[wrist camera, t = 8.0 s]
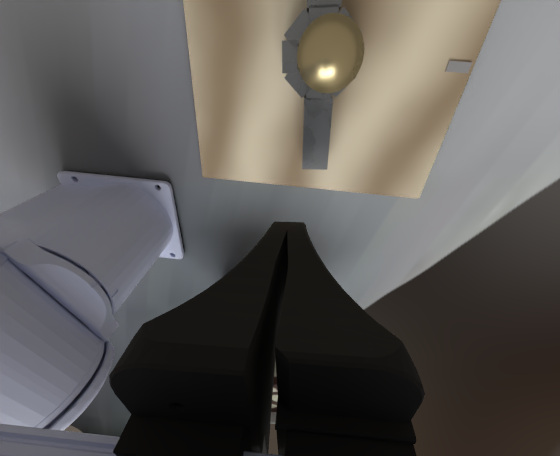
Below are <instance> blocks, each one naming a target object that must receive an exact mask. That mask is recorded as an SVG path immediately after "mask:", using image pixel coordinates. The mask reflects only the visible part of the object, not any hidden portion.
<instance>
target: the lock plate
mask: <svg viewBox="0 0 560 456" xmlns="http://www.w3.org/2000/svg"><path fill="white" fill-rule="evenodd" d="M500 1H501V0H342V3H341V8H340V10H341V9H342V8H343V7H345V9H346V10H347V12H348V13H349V14H350V16H351V17H352V19H353V20H354V21H353V20H352V19H351V18H350V17H348V16H346V15H343V14H340V13H329V14H325V15H322V16H320V17H318V18H317V19H316V20H314V21H313V22H312V23H311V24H310V25H309V26H308V27H307V28H306V30H305V32H304V33H303V35H302V37H301V39H300V42H299V46H298V51H297V64H298V69H299V72H300V75H301V77H302V79H303V80H304V82H305V83H306V84H307V85H308V86H309V87H310V88H312V89H313V90H315V91H317V92H320V93H334V92H337V91H340V90H342V89H343V88H345V87H346V86H347V87H346V88H345V89H344V90H343V91H342V92H341V93H340V94H339V95H338V96H337V97H336V98H335V97H334V96H333V94H332V97H333V108H332V119H331V131H330V143H329V154H328V166H327V170H316V169H302V155H303V121H304V97H303V98H301V97H300V95H299V94H298V93H297V92H296V91H295V90H294V89H293V88H292V86H291V85H290V84H289V83H288V82H287V81H286V80H285V78H284V77H285V76H286V75H287V74H288V73H282V41H286V40H287V39H286V37H285V36H284V34H285V33H286V31H287V30H288V29H289V28H290V26H291V25H292V24H293V22H294V21H295V20H296V18H297V17H298V16H299V14H300V13H301V12H302V10H303V9H304V8H305V10H306V11H307V0H183V3H184V12H185V21H186V30H187V39H188V48H189V57H190V66H191V75H192V84H193V93H194V102H195V111H196V120H197V129H198V138H199V147H200V156H201V165H202V174H203V177H208V178H218V179H228V180H238V181H248V182H258V183H268V184H278V185H288V186H298V187H308V188H318V189H328V190H338V191H348V192H358V193H368V194H378V195H388V196H398V197H408V198H418V199H419V197H420V195H421V192H422V190H423V188H424V185H425V183H426V180H427V178H428V176H429V173H430V171H431V168H432V166H433V163H434V161H435V159H436V156H437V154H438V151H439V149H440V146H441V144H442V142H443V139H444V137H445V134H446V132H447V130H448V127H449V125H450V122H451V120H452V117H453V115H454V113H455V110H456V108H457V105H458V103H459V101H460V98H461V96H462V93H463V91H464V88H465V86H466V84H467V81H468V79H469V76H470V74H471V72H472V69H473V67H474V64H475V62H476V59H477V57H478V55H479V52H480V50H481V47H482V45H483V42H484V40H485V38H486V35H487V33H488V30H489V28H490V26H491V23H492V21H493V18H494V16H495V13H496V11H497V9H498V6H499V4H500ZM340 10H339V12H340ZM360 30H361V31H360ZM361 32H362V33H361ZM355 77H356V78H355ZM354 78H355V79H354Z"/></svg>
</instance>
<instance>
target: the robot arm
mask: <svg viewBox="0 0 560 456" xmlns="http://www.w3.org/2000/svg"><path fill="white" fill-rule="evenodd" d="M57 177H58V179H59V181H60V185H58V186H56V187H54V188H52V189H50V190H48V191H46V192H44V193H42V194H40V195H38V196H36V197H33V198H31V199H29V200H27V201H25V202H23V203H21V204H19V205H17V206H15V207H13V208H11V209H9V210H7V211H5V212H3V213H1V214H0V456H416V452H415V449H414V445H413V444H415V443H416V436H415V433H414V429H413V426H412V422H411V419H412V418H413V416H414V414H415V413H416V411H417V409H418V408H419V406H420V405H421V403H422V401H423V398H424V395H425V393H424V390H423V386H422V383H421V379H420V377H419V374H418V372H417V369H416V367H415V366H414V363H413V361H412V359H411V357H410V355H409V353H408V351H407V349H406V348H405V346H404V344H403V342H402V341H401V340H400V339H398V338H397V337H396V336H395V335H393V334H392V333H391V332H389V331H388V330H387V329H385V328H384V327H383V326H382V325H380V324H379V323H378V322H376V321H375V320H374V319H373V318H372V317H371V316H369V315H368V314H367V313H366V312H365V311H364V310H363V309H362V308H361V307H360V306H359V305H358V304H357V303H356V302H355V301H354V300H353V299H352V298H351V297H350V296H349V295H348V294H347V293H346V292H345V291H344V290H343V288H342V287H341V286H340V285H339V284H338V283H337V281H336V280H335V279H334V278H333V276H332V275H331V274H330V272H329V271H328V269H327V268H326V267H325V265H324V263H323V262H322V260H321V259H320V257H319V255H318V254H317V252H316V250H315V248H314V246H313V244H312V242H311V240H310V238H309V235H308V233H307V229H306V225H305V224H304V223H302V222H274V223H273V224H272V225H271V227H270V228H269V230H268V231H267V232H266V234H265V235H264V236H263V238H262V239H261V240H260V241H259V243H258V244H257V245H256V246H255V247H254V248H253V250H252V251H251V252H250V253H249V254H248V255H247V256H246V257H245V258H244V259H243V260H242V261H241V262H240V263H239V264H238V265H237V266H236V267H235V268H234V269H232V270H231V271H230V272H229V273H228V274H226V275H225V276H224V277H223V278H221V279H220V280H219V281H217V282H216V283H215V284H213V285H212V286H210V287H209V288H208V289H206V290H205V291H203V292H202V293H200V294H198V295H197V296H195V297H194V298H192V299H190V300H188V301H187V302H185V303H183V304H182V305H180V306H178V307H176V308H174V309H172V310H170V311H168V312H166V313H164V314H162V315H160V316H158V317H156V318H154V319H152V320H150V321H148V322H146V323H144V324H143V325H142V326H141V328H140V329H139V330H138V332H137V333H136V335H135V336H134V337H133V339H132V340H131V342H130V344H129V345H128V347H127V348H126V350H125V352H124V353H123V355H122V356H121V358H120V360H119V361H118V363H117V364H116V366H115V368H114V369H113V371H112V372H111V374H110V375H109V376H110V386H111V388H112V389H113V391H114V393H115V394H116V395H117V397H118V398H119V399H120V400H121V402H122V403H123V404H124V405H125V407H126V408H127V409H128V410H129V412H130V413H131V416H130V418H129V420H128V422H127V424H126V426H125V428H124V430H123V432H122V434H121V436H120V437H114V436H105V435H96V434H87V433H79V432H70V431H63V430H64V429H66V428H67V427H68V426H69V425H70V424H71V423H73V422H74V421H75V420H76V419H77V418H78V417H79V416H80V415H81V414H82V412H83V411H84V410H85V409H86V408H87V407H88V406H89V404H90V403H91V402H92V400H93V399H94V398H95V396H96V395H97V394H98V392H99V390H100V389H101V387H102V386H103V384H104V382H105V380H106V378H107V375H108V373H109V371H110V368H111V366H112V362H113V358H114V347H113V345H112V343H111V342H110V341H109V340H108V339H109V338H110V337H111V335H112V334H113V332H114V331H115V330H116V328H117V327H118V326H119V324H118V323H117V322H116V321H115V319H114V318H113V315H114V314H115V313H116V311H117V310H118V309H119V307H120V306H121V305H122V304H123V302H124V301H125V300H126V298H127V297H128V296H129V294H130V293H131V292H132V291H133V289H134V288H135V287H136V285H137V284H138V283H139V282H140V280H141V279H142V278H143V276H144V275H145V274H146V273H147V271H148V270H149V269H150V267H151V266H152V265H153V263H154V262H155V261H156V260H157V258H158V257H165V258H174V259H182V258H183V256H184V249H183V244H182V238H181V233H180V228H179V222H178V217H177V212H176V206H175V201H174V196H173V190H172V186H171V184H170V183H168V182H167V181H160V180H150V179H140V178H130V177H121V176H111V175H101V174H91V173H81V172H71V171H61V172H59V173H58V174H57ZM76 178H77V179H78V180H77V179H76ZM157 185H159V186H160V187H161V189H160V188H158V186H157ZM173 253H174V254H173ZM275 360H276V375H277V390H278V400H277V411H276V422H275V430H277V442H278V453H279V455H273V454H268V449H269V435H270V422H271V408H272V396H273V384H274V372H275Z"/></svg>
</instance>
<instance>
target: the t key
mask: <svg viewBox="0 0 560 456" xmlns="http://www.w3.org/2000/svg"><path fill="white" fill-rule="evenodd" d="M341 3H342V0H307V11H306V10H305V8H304V9H303V10H302V12H301V13H300V14H299V16H298V17H297V18H296V20H295V21H294V22H293V24H292V25H291V26H290V28H289V29H288V30H287V31H286V33H285V34H284V36H285V37H286V39H287V40H286V41H282V73H288V74H287V75H286V76H285V77H284V78H285V80H286V81H287V82H288V83H289V84H290V85H291V86H292V88H293V89H294V90H295V91H296V92H297V93H298V94H299V95H300V97H301V98H303V97H304V121H303V155H302V169H316V170H327V166H328V154H329V143H330V131H331V119H332V108H333V97H332V94H333V96H334V97H335V98H336V97H337V96H338V95H339V94H340V93H341V92H342V91H343V90H344V89H345V88H346V87H347V86H346V87H345V88H343V89H342V90H340V91H337V92H334V93H320V92H317V91H315V90H313V89H312V88H310V87H309V86H308V85H307V84H306V83H305V82H304V80H303V79H302V77H301V75H300V72H299V69H298V64H297V51H298V46H299V42H300V39H301V37H302V35H303V33H304V32H305V30H306V28H307V27H308V26H309V25H310V24H311V23H312V22H313V21H314V20H316V19H317V18H318V17H320V16H322V15H325V14H329V13H340V14H343V15H346V16H348V17H350V18H351V19H352V17H351V16H350V14H349V13H348V12H347V10H346V9H345V7H343V8H342V9H341V10H340V8H341ZM339 10H340V12H339ZM352 20H353V19H352ZM353 21H354V20H353ZM360 31H361V30H360ZM361 33H362V32H361ZM355 78H356V77H355ZM355 78H354V79H355Z"/></svg>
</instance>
